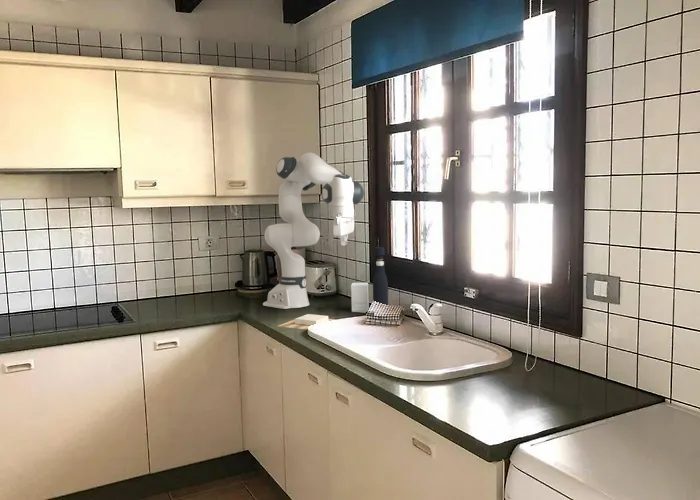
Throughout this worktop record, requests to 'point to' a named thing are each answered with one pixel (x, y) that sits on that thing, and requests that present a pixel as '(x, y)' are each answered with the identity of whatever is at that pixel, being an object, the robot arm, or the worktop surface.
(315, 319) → the tile
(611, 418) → the worktop surface
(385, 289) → the navy water bottle
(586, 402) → the worktop surface
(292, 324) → the trivet
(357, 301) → the supplement box
